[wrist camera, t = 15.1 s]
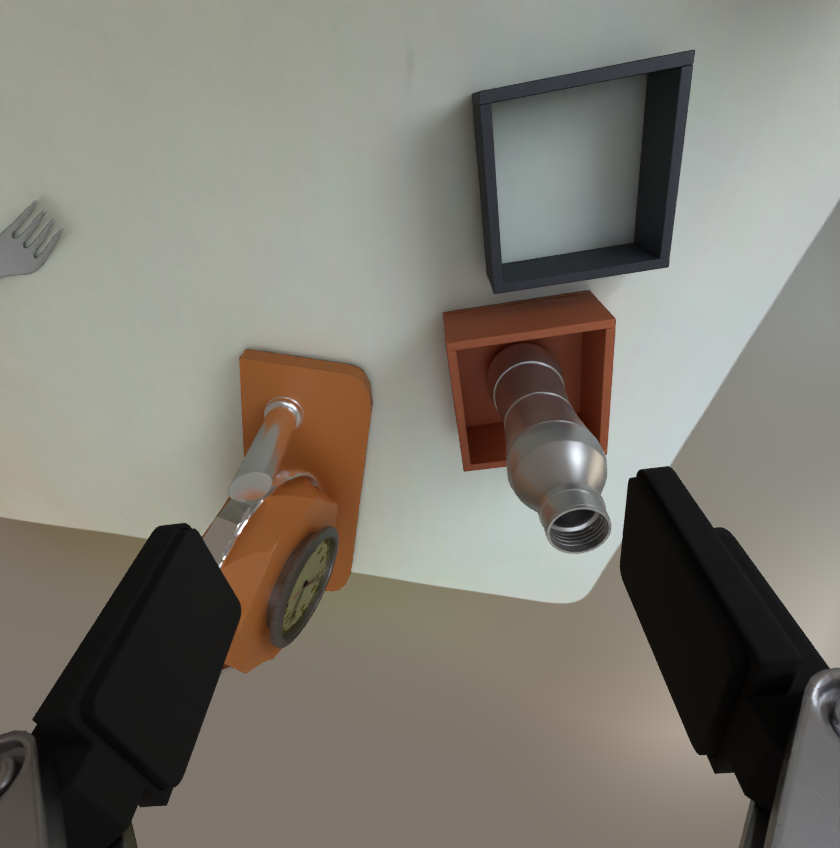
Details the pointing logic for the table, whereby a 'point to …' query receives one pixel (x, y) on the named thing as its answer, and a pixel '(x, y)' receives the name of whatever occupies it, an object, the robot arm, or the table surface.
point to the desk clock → (291, 496)
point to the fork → (9, 253)
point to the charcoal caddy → (655, 181)
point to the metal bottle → (549, 449)
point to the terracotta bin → (541, 325)
